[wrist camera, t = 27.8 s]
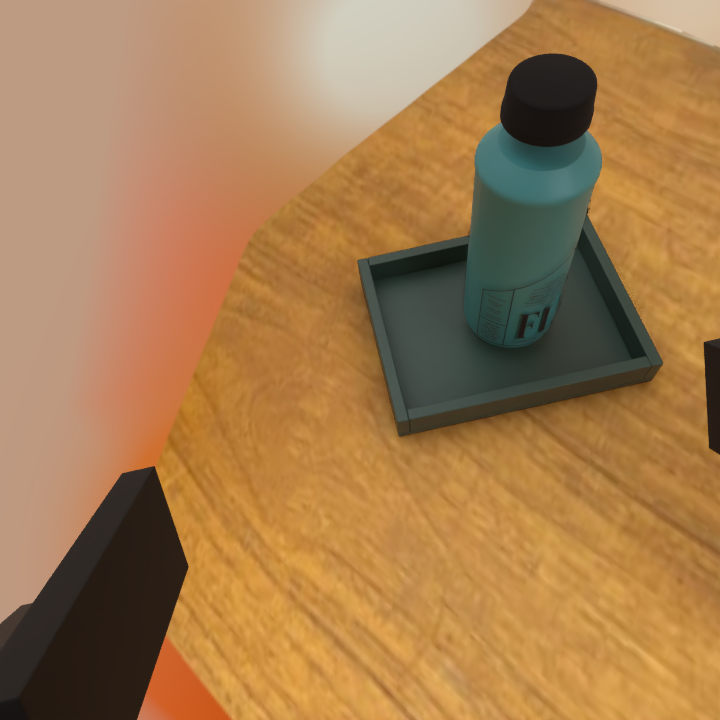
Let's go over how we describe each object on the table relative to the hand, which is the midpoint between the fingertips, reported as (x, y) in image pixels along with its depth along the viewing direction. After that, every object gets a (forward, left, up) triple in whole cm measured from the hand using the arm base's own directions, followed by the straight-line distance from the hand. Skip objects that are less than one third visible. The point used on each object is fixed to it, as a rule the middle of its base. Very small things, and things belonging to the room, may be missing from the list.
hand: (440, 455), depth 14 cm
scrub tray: (+9, +17, -25) cm, 31 cm away
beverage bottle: (+10, +17, -24) cm, 31 cm away
